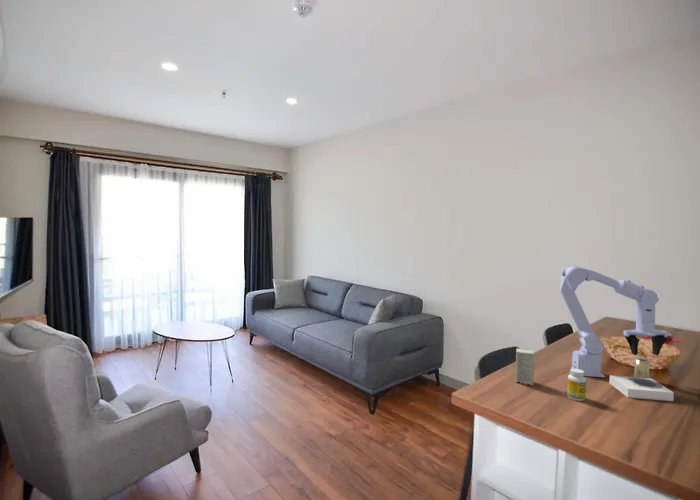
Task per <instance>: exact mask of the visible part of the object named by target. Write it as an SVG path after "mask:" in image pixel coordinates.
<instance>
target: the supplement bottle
mask: <svg viewBox="0 0 700 500" xmlns="http://www.w3.org/2000/svg"><path fill="white" fill-rule="evenodd" d="M569 371H570V372H569V374H568V376H567V390H566V395H567V397H568V398H569V399H571V400H573V401H577V402H582V401H585V399H586V389H587V379H586V377H585V376H584V371H583V370H580V369H571V368H570V370H569Z"/></svg>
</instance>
